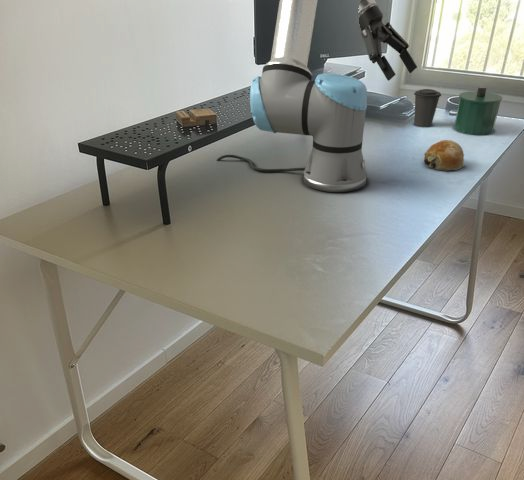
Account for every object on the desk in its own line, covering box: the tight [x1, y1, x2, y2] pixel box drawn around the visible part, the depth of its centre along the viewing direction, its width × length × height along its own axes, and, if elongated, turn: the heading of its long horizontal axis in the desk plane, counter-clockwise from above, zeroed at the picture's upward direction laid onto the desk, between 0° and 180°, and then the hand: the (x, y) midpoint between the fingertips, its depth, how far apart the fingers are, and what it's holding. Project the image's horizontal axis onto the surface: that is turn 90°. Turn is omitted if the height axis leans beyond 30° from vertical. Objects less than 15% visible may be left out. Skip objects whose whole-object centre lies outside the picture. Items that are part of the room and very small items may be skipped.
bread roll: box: [423, 139, 465, 172], centre depth 144 cm, size 10×10×8 cm
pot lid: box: [458, 85, 503, 103], centre depth 164 cm, size 12×12×4 cm
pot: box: [453, 98, 501, 136], centre depth 167 cm, size 11×11×9 cm
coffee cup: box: [413, 88, 442, 128], centre depth 171 cm, size 8×8×10 cm
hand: (403, 74), depth 171 cm, fingers open, 13 cm apart
